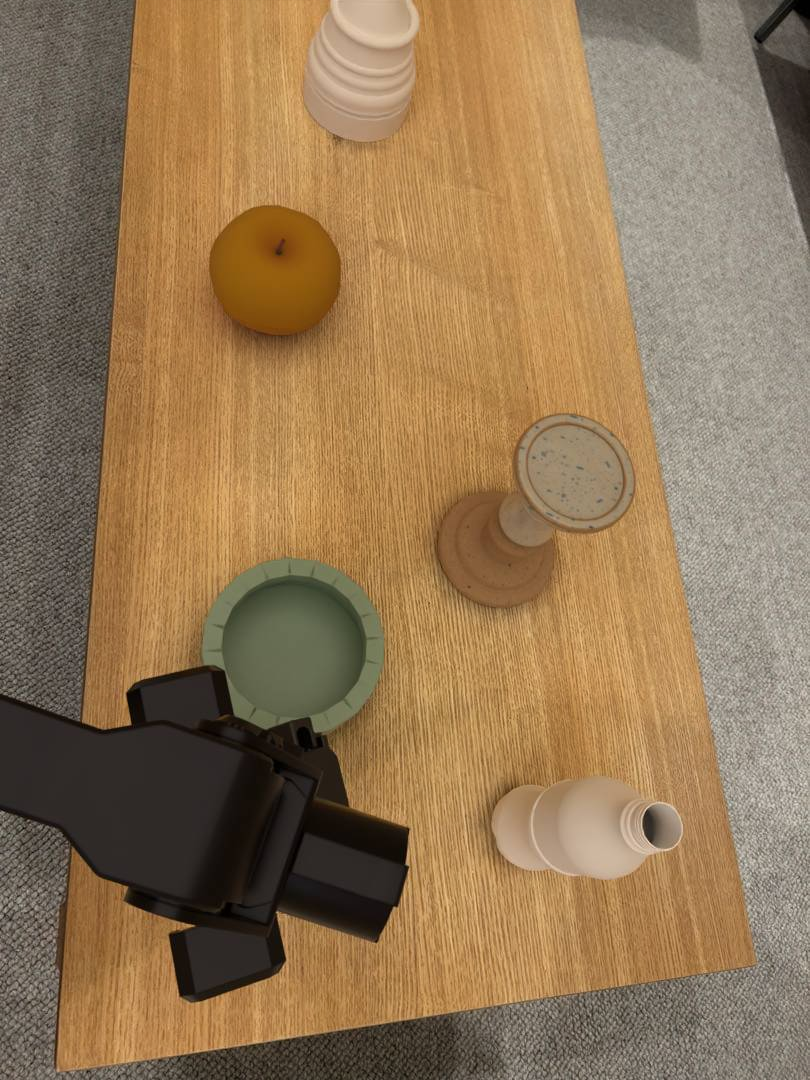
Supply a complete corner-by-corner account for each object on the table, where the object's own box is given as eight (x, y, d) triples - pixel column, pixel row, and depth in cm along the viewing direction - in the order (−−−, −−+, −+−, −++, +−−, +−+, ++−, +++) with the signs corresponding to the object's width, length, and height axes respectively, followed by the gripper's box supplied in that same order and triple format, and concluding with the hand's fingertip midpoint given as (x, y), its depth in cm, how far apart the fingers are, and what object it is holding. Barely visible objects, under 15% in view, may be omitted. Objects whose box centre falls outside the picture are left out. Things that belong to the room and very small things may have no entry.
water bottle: (546, 881, 73) (701, 904, 50) (473, 852, 72) (597, 863, 49) (566, 802, 76) (722, 791, 53) (497, 774, 75) (624, 750, 52)
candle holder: (430, 494, 83) (494, 398, 65) (541, 495, 86) (633, 403, 68) (442, 611, 79) (514, 544, 61) (559, 607, 82) (661, 542, 64)
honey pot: (427, 110, 101) (470, -31, 84) (358, 159, 96) (390, 19, 79) (351, 44, 102) (379, -108, 85) (280, 89, 97) (294, -63, 80)
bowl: (222, 765, 70) (224, 759, 64) (187, 599, 74) (185, 578, 68) (388, 720, 75) (405, 710, 68) (346, 566, 79) (358, 542, 72)
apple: (346, 351, 87) (365, 285, 76) (226, 373, 83) (229, 306, 72) (310, 252, 90) (324, 176, 79) (194, 268, 86) (192, 190, 75)
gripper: (391, 957, 43) (346, 925, 57) (309, 622, 48) (286, 670, 62) (176, 1033, 40) (185, 980, 54) (112, 665, 45) (136, 705, 59)
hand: (204, 824), depth 57 cm, fingers closed on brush, 2 cm apart
